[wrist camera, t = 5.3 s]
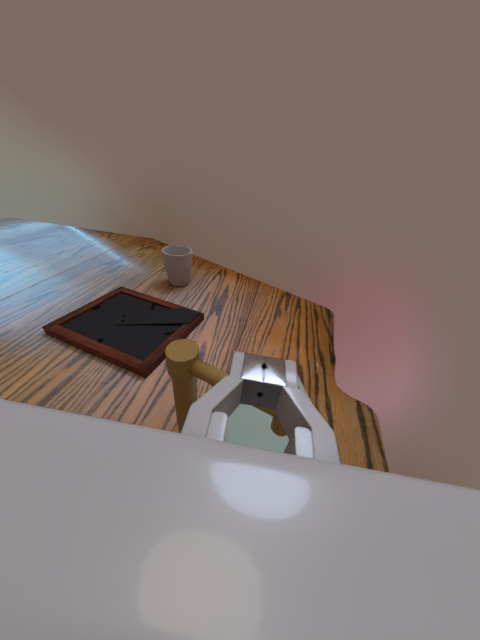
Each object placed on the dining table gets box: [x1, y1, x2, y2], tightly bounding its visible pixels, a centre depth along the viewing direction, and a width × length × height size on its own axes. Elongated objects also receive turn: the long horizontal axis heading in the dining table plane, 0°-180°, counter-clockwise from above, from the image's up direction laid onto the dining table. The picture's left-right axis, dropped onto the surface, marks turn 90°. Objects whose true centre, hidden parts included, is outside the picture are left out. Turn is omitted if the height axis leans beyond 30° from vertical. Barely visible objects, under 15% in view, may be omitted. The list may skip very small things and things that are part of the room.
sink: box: [225, 375, 312, 453], centre depth 33 cm, size 14×14×5 cm
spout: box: [165, 339, 287, 436], centre depth 22 cm, size 14×3×4 cm, turn 62°
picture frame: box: [43, 287, 204, 378], centre depth 50 cm, size 20×2×25 cm
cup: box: [162, 245, 192, 287], centre depth 66 cm, size 8×8×10 cm
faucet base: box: [172, 376, 197, 433], centre depth 28 cm, size 5×5×14 cm
